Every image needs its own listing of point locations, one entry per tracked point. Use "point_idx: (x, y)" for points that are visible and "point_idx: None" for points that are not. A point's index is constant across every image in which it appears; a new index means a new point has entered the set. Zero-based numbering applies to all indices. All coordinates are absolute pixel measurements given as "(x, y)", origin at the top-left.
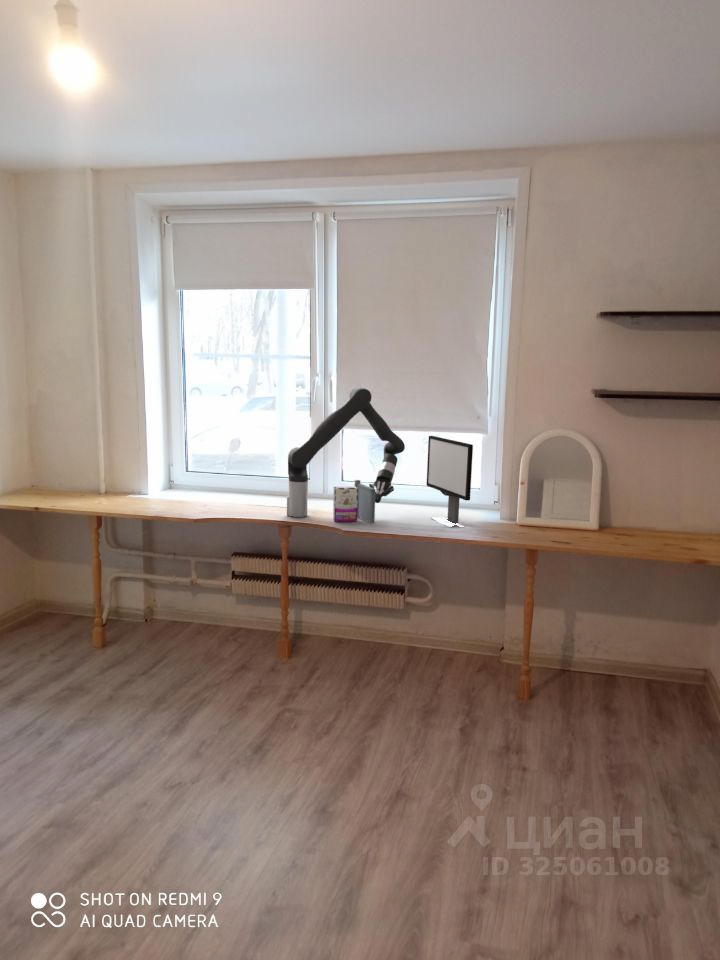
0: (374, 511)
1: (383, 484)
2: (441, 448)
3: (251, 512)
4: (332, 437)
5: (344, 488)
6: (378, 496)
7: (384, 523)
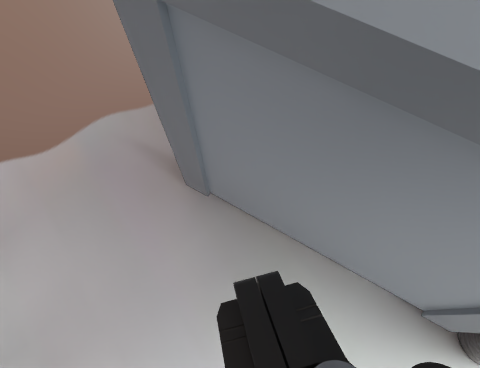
0: (170, 139)
1: None
2: None
3: None
4: None
5: None
6: (258, 335)
7: (150, 279)
